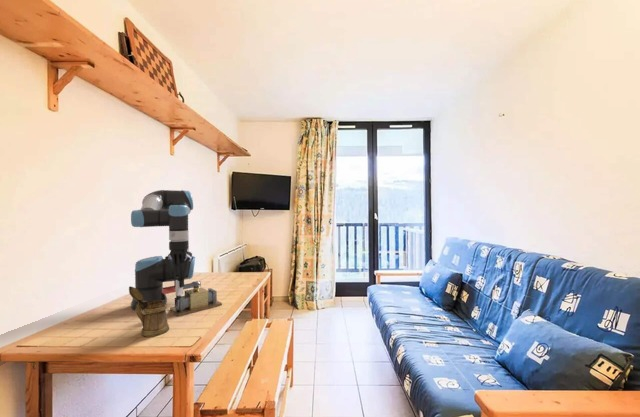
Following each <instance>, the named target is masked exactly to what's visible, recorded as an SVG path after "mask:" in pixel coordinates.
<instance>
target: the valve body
mask: <svg viewBox="0 0 640 417" xmlns="http://www.w3.org/2000/svg"><path fill="white" fill-rule="evenodd" d="M217 293H218V292H217V291H216V289H213V288H211V287H210V288H207V289H205V288H204V287H201V286H200V287H197V288H190V289H188V290H187V289H185V290H184V295H179V296H176V295H175V297H174V306H170V307H169V311H171V312H172V313H173V314H174V315H176V316H177V317H181V316H185V315H189V313H190V314H192V313H193V312H194V313H197V312H201V311H204V310H209V309H213V308H216V307H220V306H223V302H221V301H219V300H218V299H217V298H218V296H217V295H218V294H217ZM194 313H193V314H194Z"/></svg>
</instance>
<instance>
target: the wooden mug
mask: <svg viewBox="0 0 640 417" xmlns="http://www.w3.org/2000/svg"><path fill="white" fill-rule="evenodd" d="M128 292H129V296H131V298H132V299H134V300H136V301H137V302H138V303H137V305H136V310H135V314H136V316H137V318H138V319H139V320H140V322H141V325H142V328H141V332H140V333H141V335H142V336H143V337H147V338H148V337H156V336H160V335H163V334H164V333H167V332H168V331H169V330H170V325H169V322H168V317H167V312H166V311H167V310H166V309H167V306H166V304H164V300H157V301H152V302H150V303H148V301H144V299H143V295H142V293H141V292H140V291H139V290H138V289H136V288H135V287H133V286H129V287H128ZM142 308H145V309H144V310H143V313H142V310H141V309H142Z"/></svg>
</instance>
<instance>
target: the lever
mask: <svg viewBox="0 0 640 417" xmlns="http://www.w3.org/2000/svg"><path fill="white" fill-rule="evenodd" d="M201 282H202V281H200V280H198V281H197V280H196V281H192V282H190V283H184V287H183V291H185V290H187V289H188V290H189V289H193V288H197V287H199V288H201V286H202V283H201ZM162 293H163V294H166V295H167V294H169V295H170V294H172V293H176V287H175V286H174V285H171V286H170V285H169V286H165V287H163V288H162Z"/></svg>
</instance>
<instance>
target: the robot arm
mask: <svg viewBox="0 0 640 417" xmlns="http://www.w3.org/2000/svg"><path fill="white" fill-rule="evenodd" d="M193 201H194V200H193V195H192V193H191V191H190V190H183V189H182V190H173V189H172V190H171V189H170V190H169V189H168V190H166V189H161V190H154V191H152V192H150V193H148V194H146V195H145V196H144V197H143V199H142V202H141V204H142V205H141V208H140V209H133V210H132V211H131V214H130V222H131V223H130V224H131V226H132V227H134V228H149V227H150V228H152V227H168V240H169V242H168V249H169V251H170V253H168V254H167V255H166V256H165V257H164V258H163V256H162V255H158V256H157V255H156V256H150V257H146V258H142V259H138V261H136V262H135V263H134V265H135V266H134V275H135V276H134V280H135V281H134V282H135V285H134V286H135V287H134V288H136V289H138V290H139V291H140V292H141V293H142V295H143V299H144V301H148V303H150V302H152V301H157V300H164V304H165V305H166V304H167V303H168V297H167V294H163V293H162V288H164V285H163V283H167V282H174V284H173V286H175V287H176V292H175V297H176V296H179V295H180V296H183V295H184V290H183V287H184V284H185V280H191V279H192V278H193V277H194V272H195V262H196V256H195V255H193V252H192V251H190V248H189V247H190V246H189V244H190V241H189V240H190V237H189V215H190V213H192V212H191V211H193V209H194V202H193ZM137 303H138V302H137V301H136V300H134V299H133V298H132V299H131V303H130V308H131V310H133V311H134V310H135V311H136V305H137ZM144 309H145V308H142V309H141V311H144Z"/></svg>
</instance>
